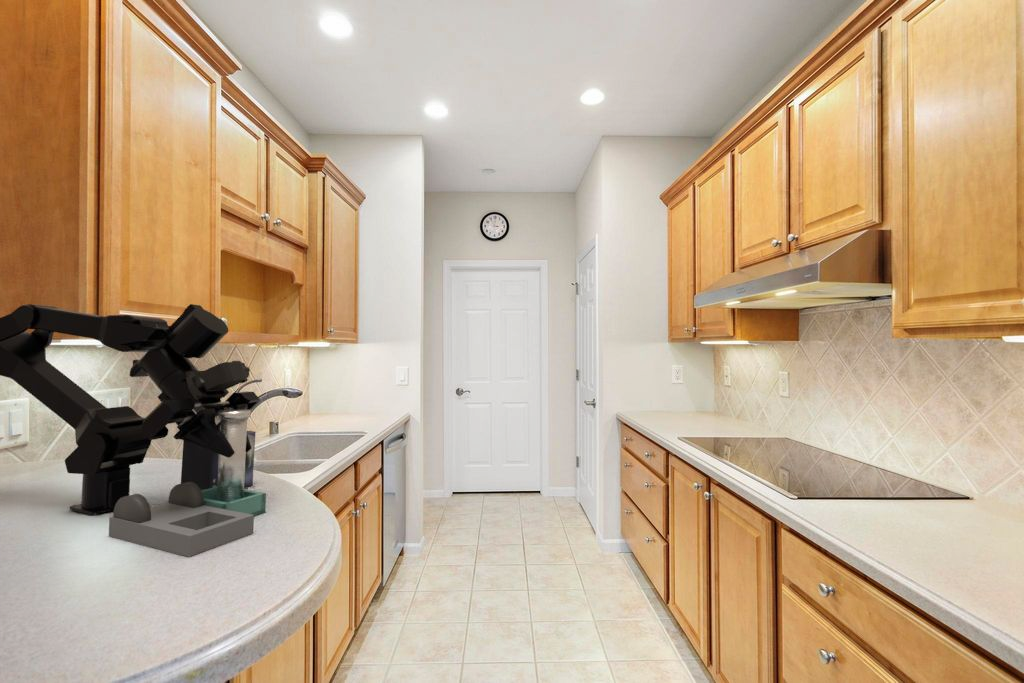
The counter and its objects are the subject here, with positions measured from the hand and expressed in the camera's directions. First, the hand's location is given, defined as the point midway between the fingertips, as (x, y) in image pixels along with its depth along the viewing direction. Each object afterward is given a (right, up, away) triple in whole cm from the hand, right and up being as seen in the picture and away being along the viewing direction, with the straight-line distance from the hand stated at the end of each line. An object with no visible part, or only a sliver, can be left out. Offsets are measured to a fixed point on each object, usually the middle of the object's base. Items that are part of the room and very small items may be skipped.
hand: (240, 452), depth 75 cm
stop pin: (-2, -8, 0) cm, 8 cm away
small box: (-11, -10, +13) cm, 19 cm away
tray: (-3, -10, 0) cm, 10 cm away
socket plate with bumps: (-3, -9, -8) cm, 13 cm away
